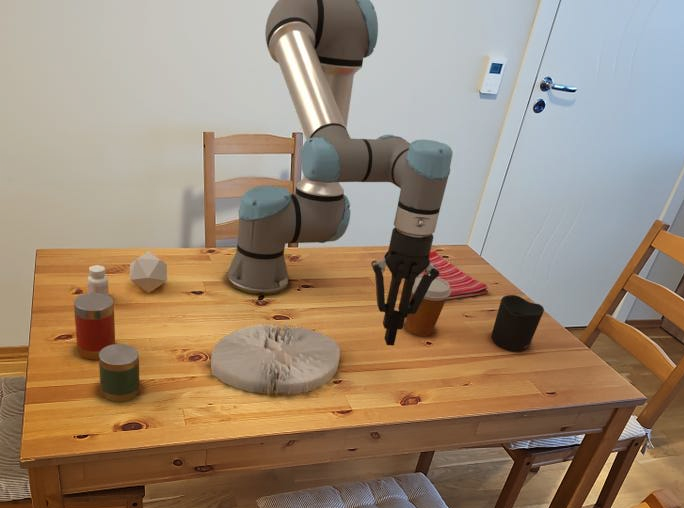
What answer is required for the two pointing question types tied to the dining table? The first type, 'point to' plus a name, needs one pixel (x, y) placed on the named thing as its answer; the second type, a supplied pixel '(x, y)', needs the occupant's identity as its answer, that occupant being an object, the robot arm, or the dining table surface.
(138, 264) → the die
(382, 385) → the dining table surface
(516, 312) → the pen holder
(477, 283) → the dish towel
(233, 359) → the spiky fractal disc
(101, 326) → the tomato tin
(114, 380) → the bean tin
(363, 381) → the dining table surface
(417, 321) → the disposable coffee cup
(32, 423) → the dining table surface
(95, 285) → the pill bottle
